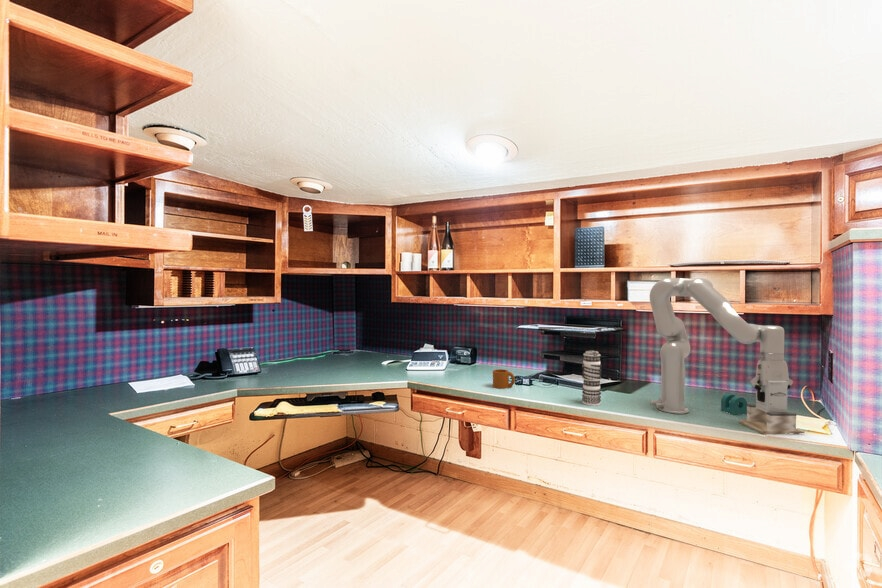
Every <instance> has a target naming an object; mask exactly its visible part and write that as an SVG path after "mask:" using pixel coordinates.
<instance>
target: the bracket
mask: <svg viewBox="0 0 882 588" xmlns="http://www.w3.org/2000/svg"><path fill="white" fill-rule="evenodd" d="M747 404H748V402H747V400H746V399H745V398H744V397H742V396H738V395H735V394H732V393H725V394H724V395H723V396H722V397H721V401H720V411H721V410H722V411H721V412H723V411H725V412H724V413H726V412H728V413H727V414H729V413H730V414H729V415H731V414H733V415H732V416H737V415H736V414H747ZM734 414H735V415H734Z"/></svg>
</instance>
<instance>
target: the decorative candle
mask: <svg viewBox="0 0 882 588" xmlns="http://www.w3.org/2000/svg"><path fill="white" fill-rule="evenodd" d="M582 355H583V359H582V360H583V361H582V364H581V367H582V368H581V370H582V372H581V374H582V376H581V377H582V379H583V384H582V388H581V389H582V391H581V392H582V395H581V400H582V402H581V403H582V404H584V405H588V406H600V405H601V403H602V396H601V395H602V392H601V391H602V389H601V380H602V377H601V375H602V374H603V373H602V369H601V368H602V367H603V365H602V362H601V354H600V353H599V351H597V350H585V352H584V353H583V354H582Z"/></svg>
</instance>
